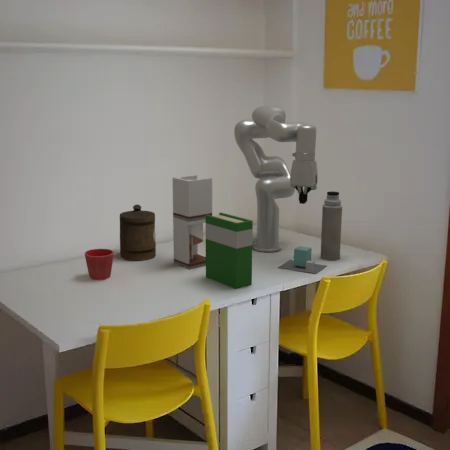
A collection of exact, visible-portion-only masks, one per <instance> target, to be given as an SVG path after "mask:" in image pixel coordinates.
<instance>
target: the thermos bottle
mask: <svg viewBox="0 0 450 450" xmlns="http://www.w3.org/2000/svg"><path fill="white" fill-rule="evenodd" d="M339 198H340V192H338V191H327V192H326V198H325V199H324V201H323V203H324V204H322V209H321V210H322V213H321V214H322V215H321V235H320V236H321V239H320V259H322V260H324V261H333V262H334V261H339V260H340V259H341V239H342V238H341V237H342V220H343V219H342V217H343V205H342V201H341V199H339Z"/></svg>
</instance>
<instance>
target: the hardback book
mask: <svg viewBox="0 0 450 450" xmlns="http://www.w3.org/2000/svg"><path fill="white" fill-rule="evenodd" d="M253 223H254V221H253V220H251V219H249V218H248V219H247V218H244V217H241V216H240V217H239V216H237V215H232V214H229V213H225V212H219V213H218V214H217V215H212V216H210V215H206V222H205V257H206V266H205V278H206V279H209V280H211V281H215V283H220V284H221V285H224V286H227V287H230V288H232V289H235V290H238V289H243V288H245V287H246V288H247V287H250V286H252V285H253V280H252V279H253V242H252V237H253V233H254V232H253V228H254V225H253Z"/></svg>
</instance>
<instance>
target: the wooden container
mask: <svg viewBox="0 0 450 450" xmlns="http://www.w3.org/2000/svg"><path fill="white" fill-rule="evenodd" d="M132 209H133V210H128V211H123V212H121V213H120V214H119V255H120V258H121V259H122V260H126V261H130V262H131V261H132V262H133V261H134V262H137V261H138V262H139V261H141V262H143V261H149V260H152V259H153V258H155V257H156V254H157V247H156V246H157V245H156V243H157V241H156V238H157V237H156V214H155V212H153V211H150V210H142V206H141V205H140V204H134V205H133V207H132Z"/></svg>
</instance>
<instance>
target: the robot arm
mask: <svg viewBox="0 0 450 450" xmlns="http://www.w3.org/2000/svg"><path fill="white" fill-rule="evenodd" d="M286 118H287V117H286V112H285V110H284V109H283V107H281V106H278V105H268V106H267V105H266V106H265V105H263V106H258V107H256V108H255V109H254V110H253V111H252V113H251V119H250V118H249V119H242V120H240V121H238V122H237V123H236V124H235V126H234V131H233V133H234V139H235V143H236V145H237V147H238V148H239V150H240V151H241V152H242V154H243V156H244V159H245V161H246V163H247V165H248V168H249V171H250V173H251V174H252V176H253V177H254V178H255V179H258V180H257V181H256V183H255V186H254V189H255V196H256V205H257V206H256V207H257V208H256V209H257V210H256V215H257V217H256V222H257V223H256V237H255V236H254V237H253V236H252V243H253V244H252V249H253V250H254V251H258V252H263V253H273V252H274V253H275V252H279V251H281V250H282V249H283V246H282V245H281V244H280V243H279V238H280V237H279V232H280V208H279V206H278V205H279V204H277V202H276V200H278V199H285V198H286V199H287V198H290V197H292V196H293V195H294V194H295V193H296V192H297V193H298V201H299V204H303V205H304V204H306V203H307V202H308V194H309V193H310V192H311V191H315V190H317V189H318V186H317V185H318V178H319V177H318V163H317V160H316V145H317V144H316V143H317V127H316V126H315V125H314V124H307V123H306V122H286ZM267 138H268V139H269V138H270V139H272V140H273V141H276V142H279V143H293V142H295V152H292V155H291V156H292V157H294V159H293V160H292V163H291V167H290V170H289V168H288V165H287V163H286V161H285V159H283V157H281V156H279V155H278V156H268V155H266V154H265V152H264V149H263V148H262V146H260V144H259V143H258V142H257V141H255V140H254V139H267ZM295 191H296V192H295Z"/></svg>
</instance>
